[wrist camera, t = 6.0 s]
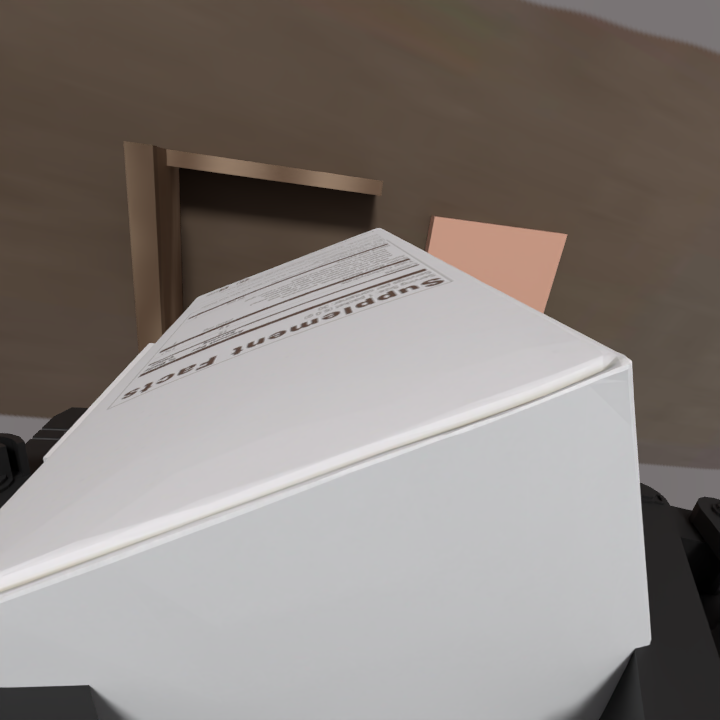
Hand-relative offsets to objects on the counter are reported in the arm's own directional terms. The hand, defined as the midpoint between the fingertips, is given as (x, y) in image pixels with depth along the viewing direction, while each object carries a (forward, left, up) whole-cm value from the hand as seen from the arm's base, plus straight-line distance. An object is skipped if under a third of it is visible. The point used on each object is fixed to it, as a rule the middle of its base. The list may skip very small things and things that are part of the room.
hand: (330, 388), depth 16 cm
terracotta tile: (+15, 0, -22) cm, 26 cm away
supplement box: (0, 0, -4) cm, 4 cm away
